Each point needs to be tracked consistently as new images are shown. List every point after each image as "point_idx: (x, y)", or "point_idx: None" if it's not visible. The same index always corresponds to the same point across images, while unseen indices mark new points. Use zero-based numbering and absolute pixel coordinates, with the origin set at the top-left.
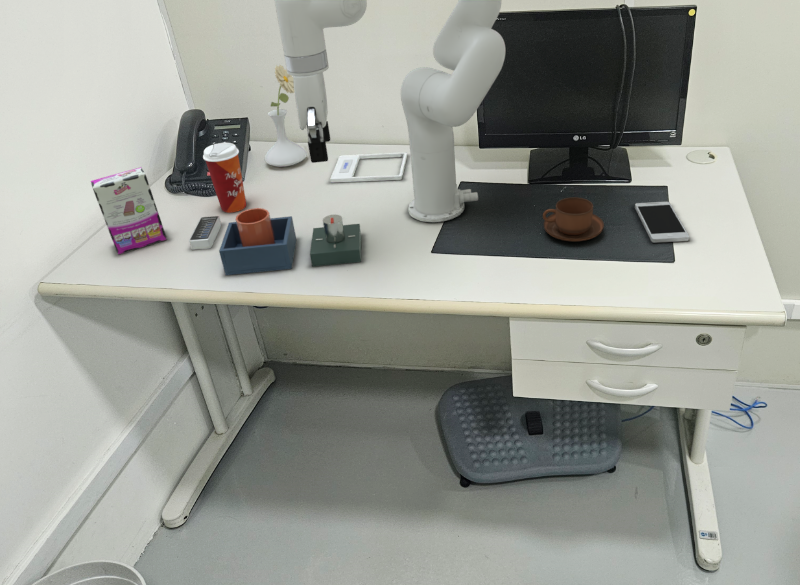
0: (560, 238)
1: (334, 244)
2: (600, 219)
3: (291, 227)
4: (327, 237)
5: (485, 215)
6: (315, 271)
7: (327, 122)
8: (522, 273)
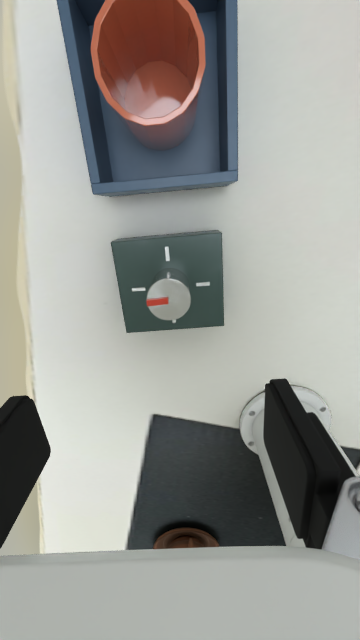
0: (158, 538)
1: (143, 288)
2: None
3: (199, 185)
4: (155, 276)
5: (247, 473)
6: (101, 247)
7: (306, 546)
8: (100, 496)
